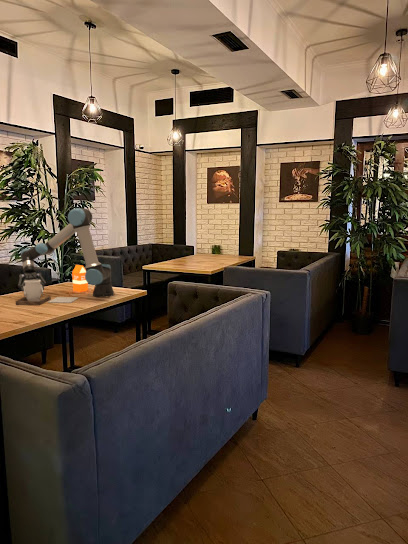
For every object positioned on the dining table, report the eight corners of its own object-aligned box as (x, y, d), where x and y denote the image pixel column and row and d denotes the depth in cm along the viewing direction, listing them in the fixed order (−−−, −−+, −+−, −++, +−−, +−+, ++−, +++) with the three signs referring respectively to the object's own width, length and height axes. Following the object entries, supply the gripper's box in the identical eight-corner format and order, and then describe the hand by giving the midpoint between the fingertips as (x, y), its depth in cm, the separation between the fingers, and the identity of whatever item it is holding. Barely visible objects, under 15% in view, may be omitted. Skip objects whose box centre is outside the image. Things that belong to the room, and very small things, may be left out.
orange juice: (81, 289, 320) (80, 264, 317) (88, 290, 315) (87, 265, 312) (72, 290, 314) (71, 265, 311) (79, 291, 309) (78, 266, 306)
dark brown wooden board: (50, 299, 281) (50, 296, 280) (39, 305, 264) (39, 301, 263) (28, 299, 281) (28, 295, 281) (15, 304, 265) (15, 301, 264)
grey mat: (79, 298, 286) (79, 297, 286) (70, 303, 270) (70, 302, 270) (57, 297, 287) (57, 297, 287) (47, 302, 271) (47, 302, 271)
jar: (35, 304, 266) (34, 282, 264) (22, 303, 268) (20, 281, 266) (45, 300, 277) (44, 279, 275) (31, 300, 279) (30, 278, 277)
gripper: (45, 270, 289) (51, 295, 278) (10, 272, 277) (15, 299, 266) (46, 264, 283) (52, 289, 272) (11, 266, 272) (15, 292, 261)
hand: (33, 294), depth 269 cm, fingers closed on jar, 10 cm apart
